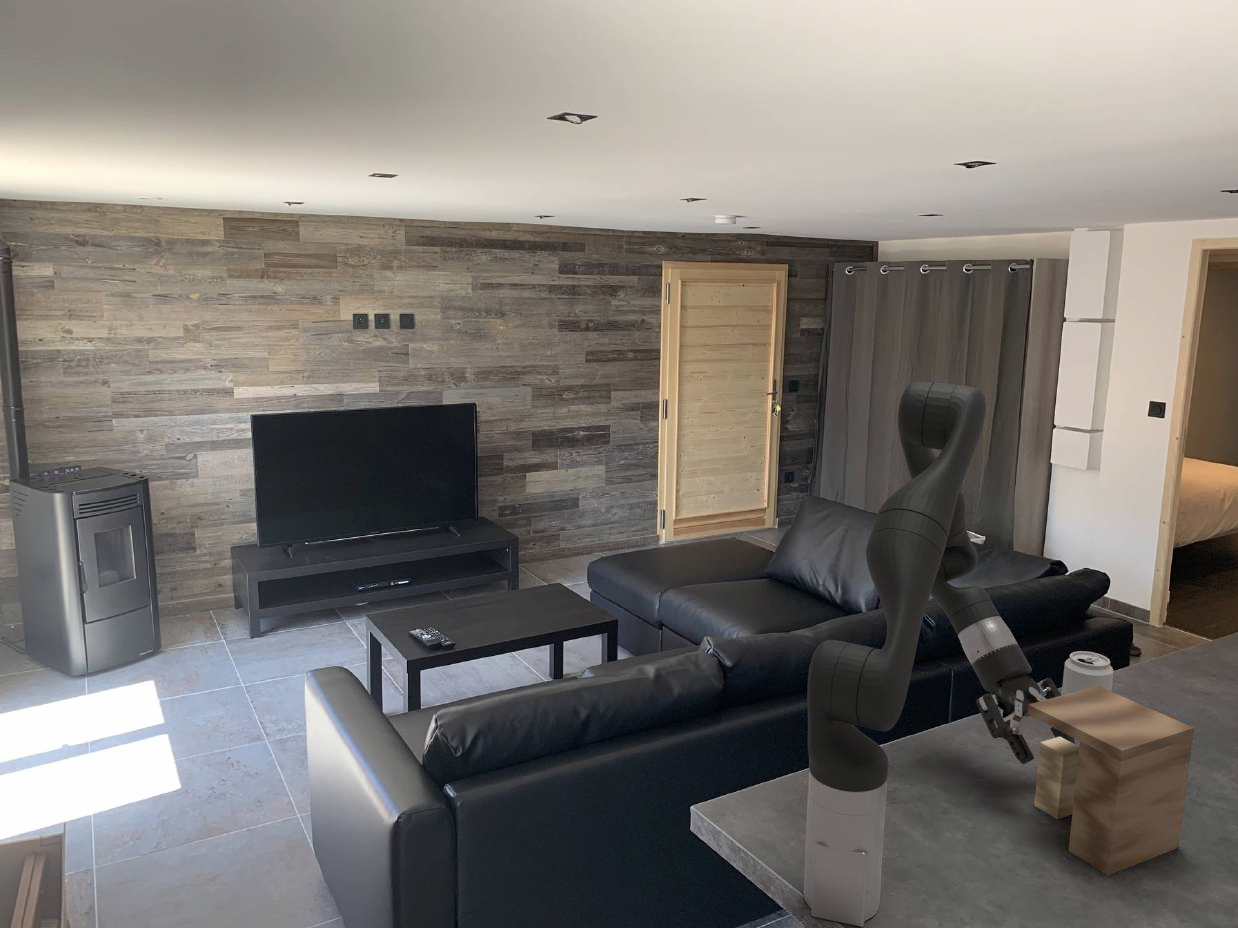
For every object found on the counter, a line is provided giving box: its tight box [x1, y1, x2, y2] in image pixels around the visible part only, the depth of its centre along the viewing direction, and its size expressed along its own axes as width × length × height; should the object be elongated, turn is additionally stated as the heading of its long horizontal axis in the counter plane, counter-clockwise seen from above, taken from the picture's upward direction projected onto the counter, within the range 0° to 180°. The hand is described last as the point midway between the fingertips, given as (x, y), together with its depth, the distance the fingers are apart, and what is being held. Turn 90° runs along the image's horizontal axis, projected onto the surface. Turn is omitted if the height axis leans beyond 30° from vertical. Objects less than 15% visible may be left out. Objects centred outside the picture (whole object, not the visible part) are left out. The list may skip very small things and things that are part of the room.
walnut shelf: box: [1028, 686, 1195, 876], centre depth 133 cm, size 14×14×18 cm
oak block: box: [1033, 737, 1080, 820], centre depth 139 cm, size 4×4×10 cm
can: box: [1061, 650, 1114, 695], centre depth 166 cm, size 8×8×12 cm
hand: (1049, 755), depth 140 cm, fingers open, 8 cm apart
